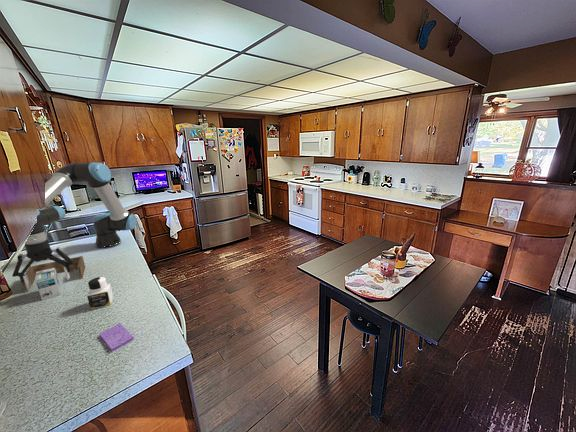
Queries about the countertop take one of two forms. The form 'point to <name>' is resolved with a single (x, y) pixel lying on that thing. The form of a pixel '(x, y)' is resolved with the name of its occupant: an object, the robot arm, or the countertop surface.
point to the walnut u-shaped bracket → (58, 267)
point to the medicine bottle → (99, 293)
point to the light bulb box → (48, 283)
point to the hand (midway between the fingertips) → (49, 282)
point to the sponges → (116, 337)
